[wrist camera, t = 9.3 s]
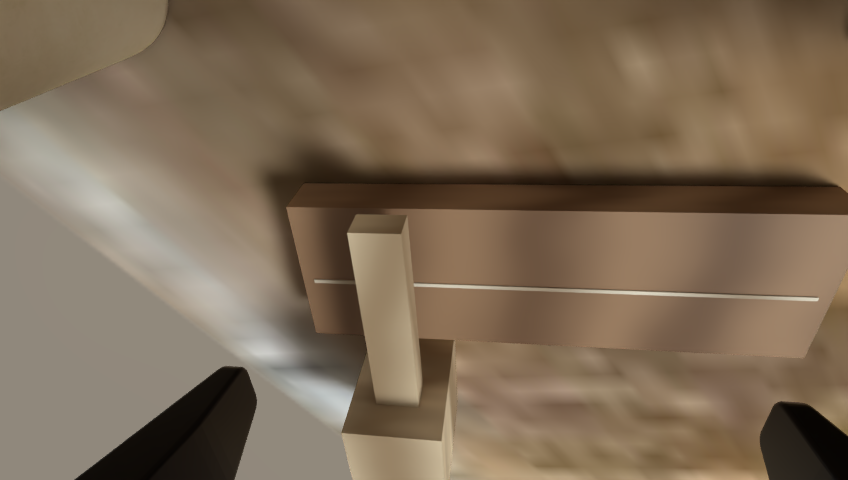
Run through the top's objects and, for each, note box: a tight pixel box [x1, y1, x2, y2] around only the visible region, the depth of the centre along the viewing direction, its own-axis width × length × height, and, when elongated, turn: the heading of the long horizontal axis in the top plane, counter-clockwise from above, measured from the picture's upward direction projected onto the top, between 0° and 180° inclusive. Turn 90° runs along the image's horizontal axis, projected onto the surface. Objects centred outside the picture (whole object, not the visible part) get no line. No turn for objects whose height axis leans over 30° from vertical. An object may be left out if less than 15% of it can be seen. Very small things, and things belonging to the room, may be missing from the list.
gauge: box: [341, 214, 458, 480], centre depth 21 cm, size 4×14×6 cm, turn 3°
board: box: [286, 183, 848, 358], centre depth 20 cm, size 20×6×2 cm, turn 93°
